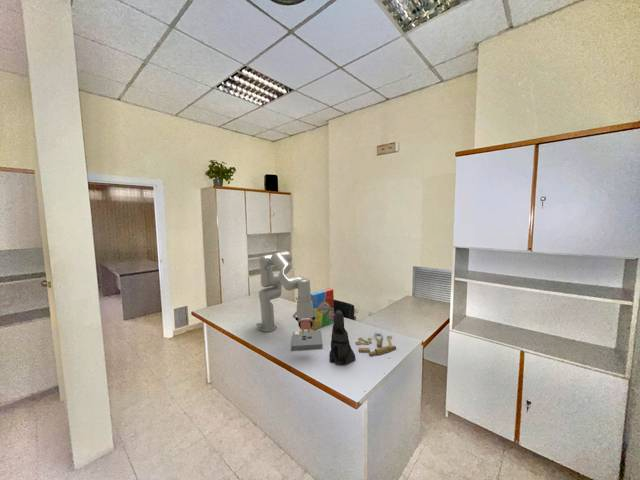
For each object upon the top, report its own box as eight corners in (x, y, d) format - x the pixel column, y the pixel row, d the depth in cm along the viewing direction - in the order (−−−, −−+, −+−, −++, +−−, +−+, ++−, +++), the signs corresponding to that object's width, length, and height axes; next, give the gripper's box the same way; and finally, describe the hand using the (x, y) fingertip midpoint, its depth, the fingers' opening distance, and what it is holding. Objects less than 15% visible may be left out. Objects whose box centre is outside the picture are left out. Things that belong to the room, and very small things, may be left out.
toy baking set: (377, 330, 187) (377, 325, 187) (407, 343, 167) (407, 338, 167) (345, 345, 167) (345, 340, 167) (375, 362, 147) (375, 356, 147)
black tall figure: (339, 368, 141) (337, 316, 138) (324, 358, 152) (322, 309, 149) (357, 359, 149) (356, 310, 146) (341, 350, 160) (340, 304, 158)
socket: (291, 350, 162) (291, 344, 162) (293, 335, 182) (292, 330, 182) (322, 348, 163) (322, 343, 163) (320, 334, 183) (320, 329, 183)
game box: (314, 330, 190) (312, 295, 187) (309, 328, 194) (308, 293, 191) (334, 322, 203) (333, 289, 200) (330, 320, 207) (329, 287, 204)
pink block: (300, 334, 153) (300, 323, 153) (301, 330, 159) (300, 319, 158) (310, 334, 153) (310, 322, 153) (310, 329, 159) (310, 318, 159)
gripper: (289, 301, 150) (291, 331, 152) (318, 300, 151) (319, 329, 153) (290, 297, 158) (292, 325, 159) (318, 296, 158) (319, 324, 160)
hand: (305, 327), depth 156 cm, fingers closed on pink block, 6 cm apart
